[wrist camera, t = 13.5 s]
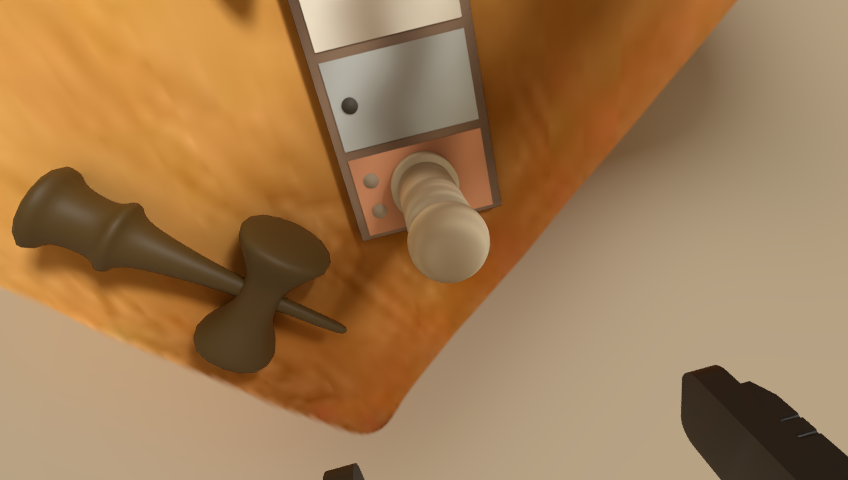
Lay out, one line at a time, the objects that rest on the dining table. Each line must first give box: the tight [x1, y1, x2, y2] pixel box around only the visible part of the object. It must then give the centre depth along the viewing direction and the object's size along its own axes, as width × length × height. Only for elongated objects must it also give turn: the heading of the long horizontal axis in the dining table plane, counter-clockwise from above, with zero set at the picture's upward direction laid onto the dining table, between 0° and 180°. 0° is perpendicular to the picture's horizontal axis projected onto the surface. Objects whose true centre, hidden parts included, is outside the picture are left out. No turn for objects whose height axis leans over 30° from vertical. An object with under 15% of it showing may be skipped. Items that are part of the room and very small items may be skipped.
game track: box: [288, 0, 501, 241], centre depth 28 cm, size 10×18×1 cm, turn 13°
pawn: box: [391, 151, 490, 283], centre depth 25 cm, size 4×4×11 cm
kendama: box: [12, 167, 347, 373], centre depth 29 cm, size 6×10×20 cm
